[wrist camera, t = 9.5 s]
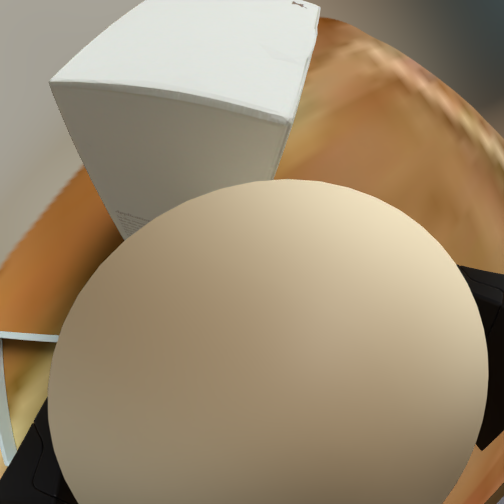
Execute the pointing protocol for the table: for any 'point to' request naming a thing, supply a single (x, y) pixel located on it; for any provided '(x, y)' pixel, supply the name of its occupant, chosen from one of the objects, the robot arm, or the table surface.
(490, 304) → the robot arm
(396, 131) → the table surface
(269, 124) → the small box
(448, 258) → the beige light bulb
